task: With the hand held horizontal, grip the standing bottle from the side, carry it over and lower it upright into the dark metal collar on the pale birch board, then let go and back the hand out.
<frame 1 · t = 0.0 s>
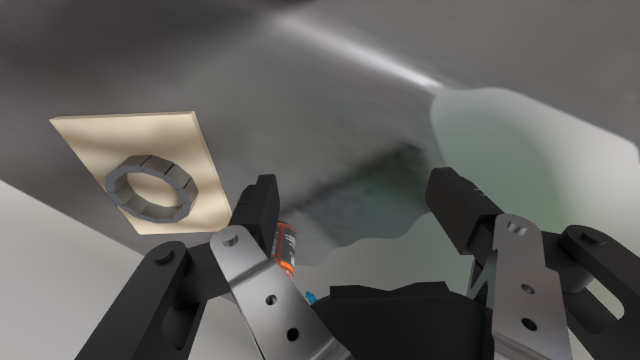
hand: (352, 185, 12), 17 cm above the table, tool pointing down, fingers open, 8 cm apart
birch board: (163, 181, 32), on the table
supplement bottle: (279, 230, 40), on the table
gear: (322, 292, 54), on the table
metal collar: (155, 191, 31), on the birch board, point 2 cm above the table
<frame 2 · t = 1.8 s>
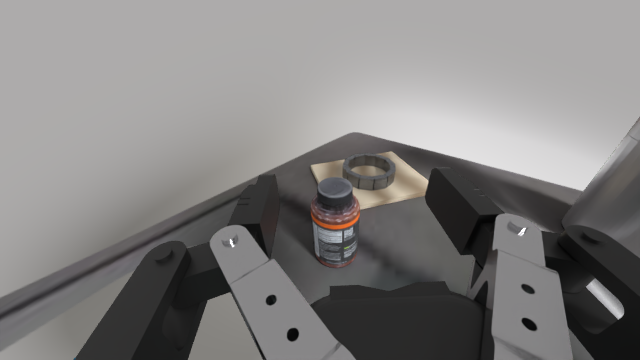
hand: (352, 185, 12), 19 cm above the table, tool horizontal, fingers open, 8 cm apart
birch board: (367, 179, 46), on the table
supplement bottle: (335, 252, 32), on the table
metal collar: (368, 170, 45), on the birch board, point 2 cm above the table
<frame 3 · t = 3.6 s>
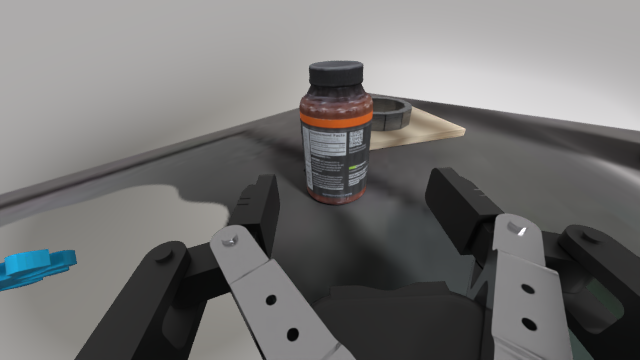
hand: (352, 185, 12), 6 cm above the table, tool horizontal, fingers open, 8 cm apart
birch board: (375, 126, 37), on the table
supplement bottle: (335, 190, 23), on the table
metal collar: (376, 112, 36), on the birch board, point 2 cm above the table
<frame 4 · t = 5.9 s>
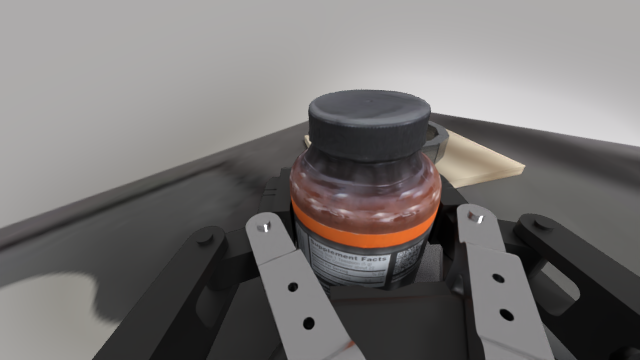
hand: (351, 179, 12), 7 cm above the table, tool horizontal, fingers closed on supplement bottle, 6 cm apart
birch board: (396, 155, 28), on the table
supplement bottle: (352, 293, 14), on the table, touching gripper
metal collar: (398, 138, 27), on the birch board, point 2 cm above the table
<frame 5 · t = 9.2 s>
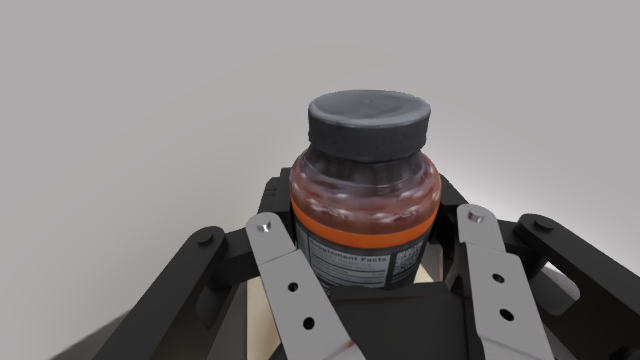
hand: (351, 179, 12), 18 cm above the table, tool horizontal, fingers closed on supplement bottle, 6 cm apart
birch board: (354, 330, 22), on the table
supplement bottle: (352, 293, 14), point 11 cm above the table, touching gripper
when the fingers open (8 cm above the table, at t = 12.3 s): supplement bottle stays where it is, resting on birch board.
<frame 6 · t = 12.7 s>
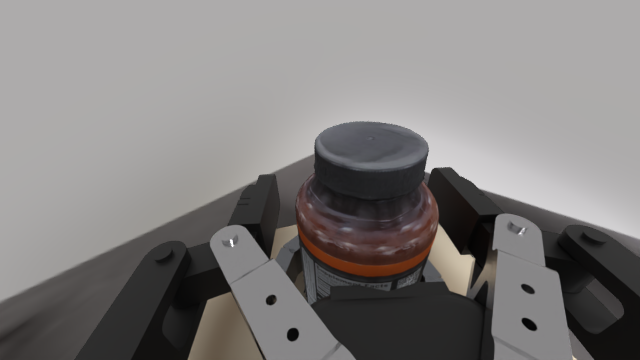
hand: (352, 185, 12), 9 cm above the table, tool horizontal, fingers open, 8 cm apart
birch board: (350, 310, 15), on the table
supplement bottle: (353, 306, 14), point 1 cm above the table, touching birch board
metal collar: (352, 291, 14), on the birch board, point 2 cm above the table
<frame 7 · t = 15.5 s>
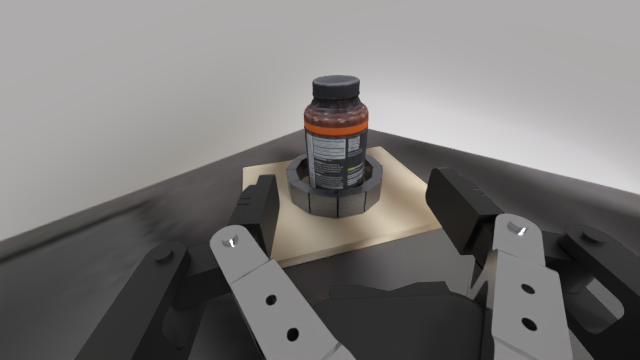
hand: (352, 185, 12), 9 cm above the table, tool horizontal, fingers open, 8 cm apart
birch board: (334, 194, 26), on the table
supplement bottle: (335, 189, 25), point 1 cm above the table, touching birch board
metal collar: (334, 177, 25), on the birch board, point 2 cm above the table
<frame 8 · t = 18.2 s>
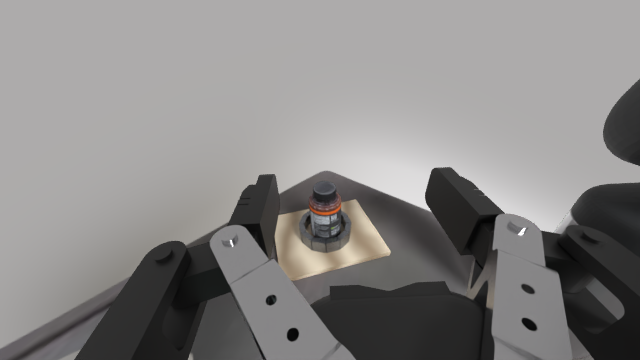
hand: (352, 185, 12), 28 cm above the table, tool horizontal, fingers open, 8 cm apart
birch board: (325, 235, 46), on the table
supplement bottle: (326, 233, 45), point 1 cm above the table, touching birch board
metal collar: (325, 227, 45), on the birch board, point 2 cm above the table
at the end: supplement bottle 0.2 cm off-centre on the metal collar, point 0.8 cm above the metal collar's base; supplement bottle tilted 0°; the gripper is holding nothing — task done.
